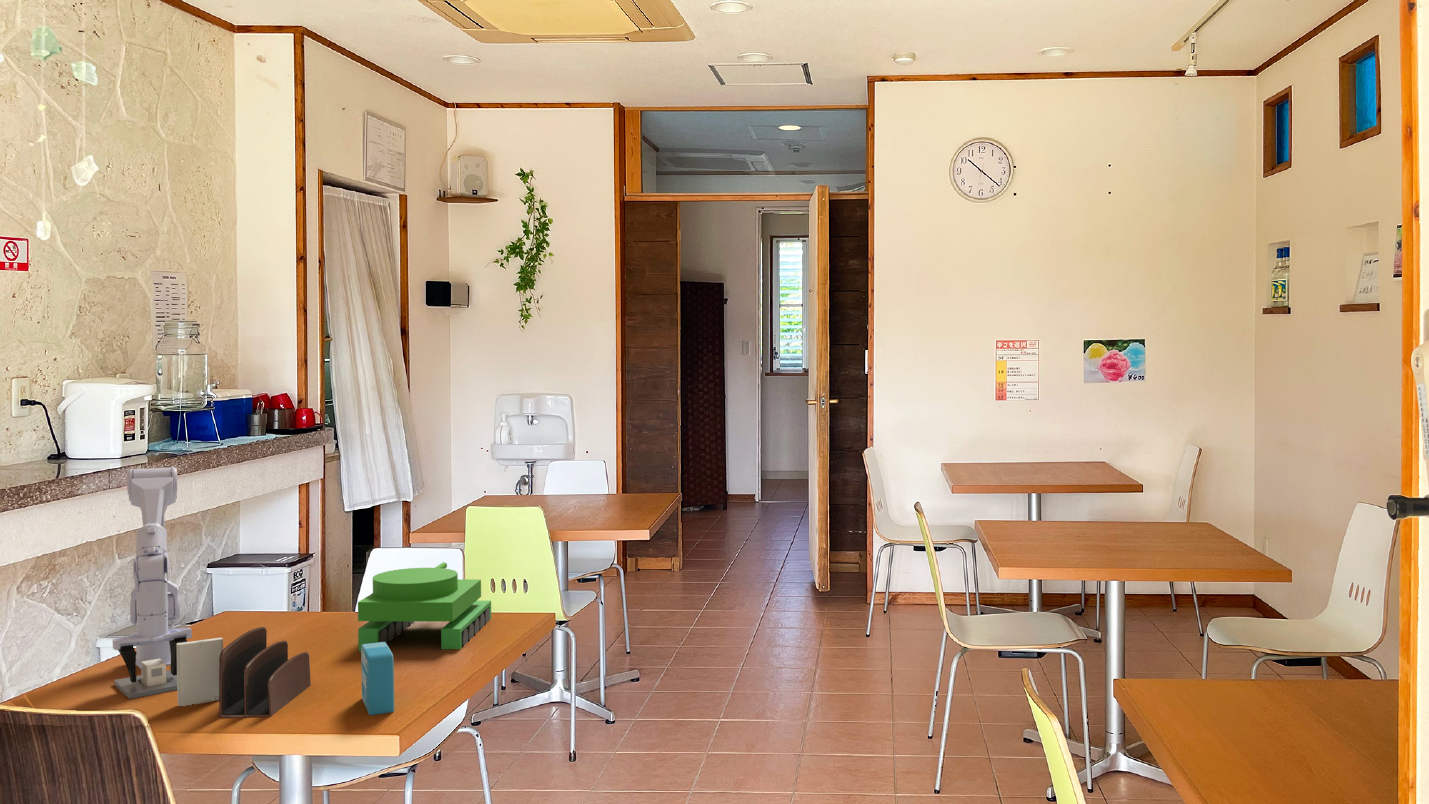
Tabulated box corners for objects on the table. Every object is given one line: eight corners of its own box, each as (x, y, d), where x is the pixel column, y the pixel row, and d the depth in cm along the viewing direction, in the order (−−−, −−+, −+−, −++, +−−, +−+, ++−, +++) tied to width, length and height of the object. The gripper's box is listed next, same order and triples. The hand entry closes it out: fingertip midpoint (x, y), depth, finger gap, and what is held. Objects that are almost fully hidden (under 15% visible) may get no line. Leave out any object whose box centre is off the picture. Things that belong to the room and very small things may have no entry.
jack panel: (114, 684, 222) (114, 678, 222) (235, 663, 238) (235, 657, 238) (129, 699, 212) (129, 692, 212) (254, 675, 228) (254, 669, 228)
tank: (498, 620, 278) (497, 558, 278) (462, 656, 243) (461, 586, 243) (406, 619, 279) (405, 558, 279) (357, 656, 244) (356, 585, 244)
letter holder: (218, 721, 199) (216, 646, 199) (263, 689, 219) (261, 621, 218) (271, 721, 199) (270, 646, 199) (311, 689, 219) (310, 621, 218)
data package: (361, 703, 209) (360, 642, 209) (385, 699, 211) (384, 640, 211) (369, 721, 198) (368, 657, 198) (394, 717, 200) (393, 654, 200)
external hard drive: (224, 701, 211) (223, 638, 210) (178, 708, 206) (177, 645, 206) (223, 698, 212) (221, 637, 212) (177, 706, 208) (176, 643, 207)
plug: (138, 682, 223) (138, 659, 223) (157, 679, 226) (156, 656, 226) (147, 690, 218) (147, 666, 218) (166, 687, 220) (165, 663, 220)
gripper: (117, 621, 213) (119, 689, 213) (195, 610, 222) (196, 675, 223) (109, 615, 218) (111, 681, 218) (186, 605, 227) (187, 668, 228)
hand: (153, 677), depth 221 cm, fingers open, 7 cm apart
